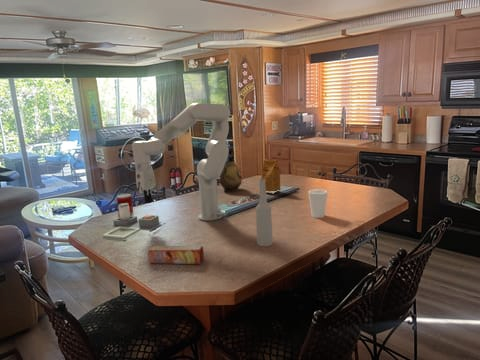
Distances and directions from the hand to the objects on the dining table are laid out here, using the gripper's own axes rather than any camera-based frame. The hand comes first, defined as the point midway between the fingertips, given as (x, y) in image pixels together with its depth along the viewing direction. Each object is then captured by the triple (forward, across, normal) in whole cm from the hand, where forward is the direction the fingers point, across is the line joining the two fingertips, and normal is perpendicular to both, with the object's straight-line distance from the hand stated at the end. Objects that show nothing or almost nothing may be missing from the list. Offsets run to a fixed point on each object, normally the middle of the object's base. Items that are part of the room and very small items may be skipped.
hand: (148, 202), depth 179 cm
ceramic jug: (+16, +81, -10) cm, 83 cm away
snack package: (+14, -33, -33) cm, 49 cm away
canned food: (+13, +17, +30) cm, 37 cm away
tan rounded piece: (+11, -1, +1) cm, 11 cm away
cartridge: (+11, -1, +16) cm, 19 cm away
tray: (+13, -14, +8) cm, 20 cm away
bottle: (+15, -7, -61) cm, 64 cm away
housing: (+13, -1, +9) cm, 16 cm away
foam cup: (+17, +35, -77) cm, 87 cm away
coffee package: (+17, +79, -39) cm, 90 cm away
